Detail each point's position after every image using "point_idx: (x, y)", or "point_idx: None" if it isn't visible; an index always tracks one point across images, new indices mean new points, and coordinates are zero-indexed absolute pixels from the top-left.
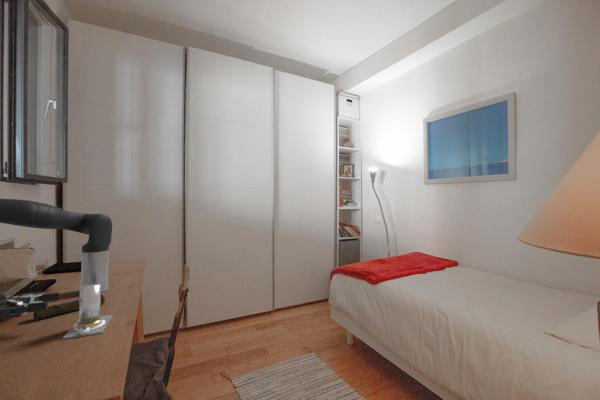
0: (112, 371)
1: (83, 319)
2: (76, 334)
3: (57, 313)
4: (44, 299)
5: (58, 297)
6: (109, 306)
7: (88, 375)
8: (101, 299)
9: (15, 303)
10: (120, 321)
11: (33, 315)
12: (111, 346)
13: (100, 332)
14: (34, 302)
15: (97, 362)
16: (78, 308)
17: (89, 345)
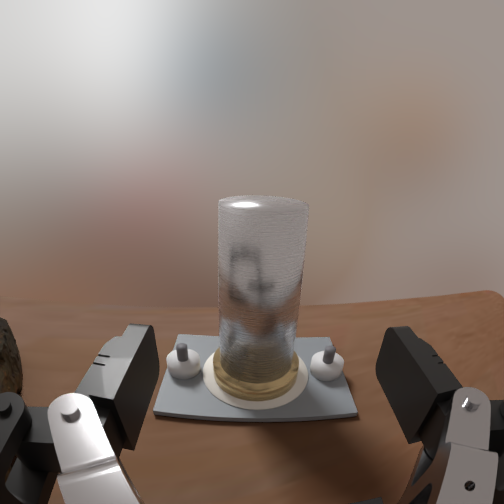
0: (469, 298)
1: (292, 351)
2: (336, 385)
3: (10, 466)
4: (127, 429)
5: (156, 354)
6: (62, 343)
7: (485, 314)
8: (13, 338)
9: (491, 474)
10: None
11: None
12: (403, 314)
13: (330, 341)
14: (141, 500)
15: (456, 316)
16: None
17: None
